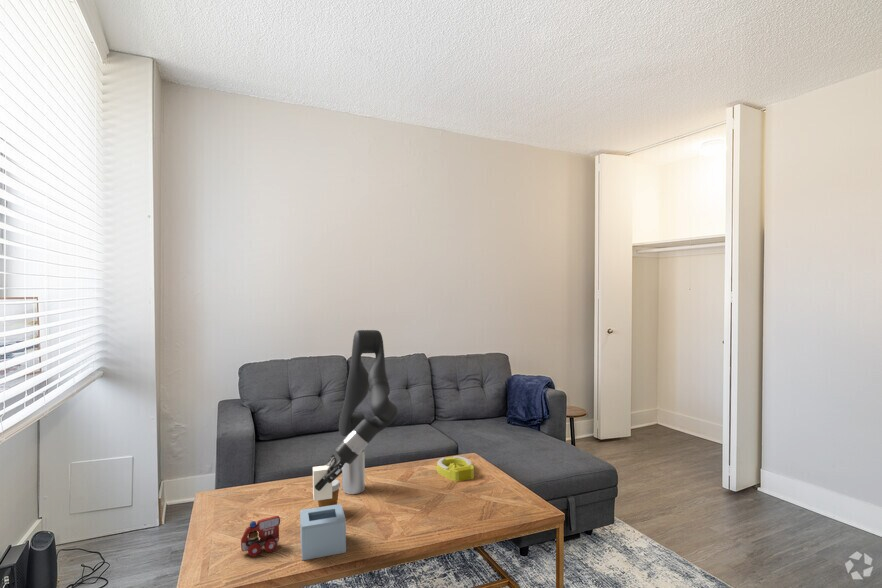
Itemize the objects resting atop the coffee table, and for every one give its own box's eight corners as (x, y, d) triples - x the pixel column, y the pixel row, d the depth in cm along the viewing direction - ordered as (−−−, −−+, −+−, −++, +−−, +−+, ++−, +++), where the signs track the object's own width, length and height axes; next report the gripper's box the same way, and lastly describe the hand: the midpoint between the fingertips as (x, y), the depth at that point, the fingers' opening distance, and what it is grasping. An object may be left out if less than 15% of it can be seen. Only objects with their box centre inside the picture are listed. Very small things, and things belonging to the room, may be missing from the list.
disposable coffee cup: (327, 521, 178) (327, 489, 178) (310, 514, 183) (309, 484, 183) (345, 511, 186) (345, 480, 186) (328, 505, 191) (327, 475, 191)
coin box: (302, 560, 153) (301, 526, 153) (300, 541, 164) (300, 510, 164) (345, 552, 158) (345, 519, 157) (341, 534, 169) (341, 503, 169)
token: (331, 493, 163) (330, 464, 163) (332, 498, 160) (331, 468, 160) (313, 496, 162) (312, 467, 161) (313, 501, 158) (313, 471, 158)
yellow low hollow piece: (448, 483, 212) (448, 472, 212) (432, 467, 231) (431, 457, 231) (481, 478, 218) (481, 467, 218) (462, 462, 237) (462, 452, 237)
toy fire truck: (240, 549, 160) (239, 519, 159) (278, 540, 166) (278, 510, 165) (242, 560, 154) (241, 528, 153) (281, 549, 159) (281, 519, 159)
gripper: (341, 433, 169) (306, 471, 166) (346, 446, 156) (309, 488, 152) (356, 446, 171) (322, 484, 167) (363, 460, 158) (326, 502, 154)
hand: (316, 486), depth 160 cm, fingers closed on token, 4 cm apart
